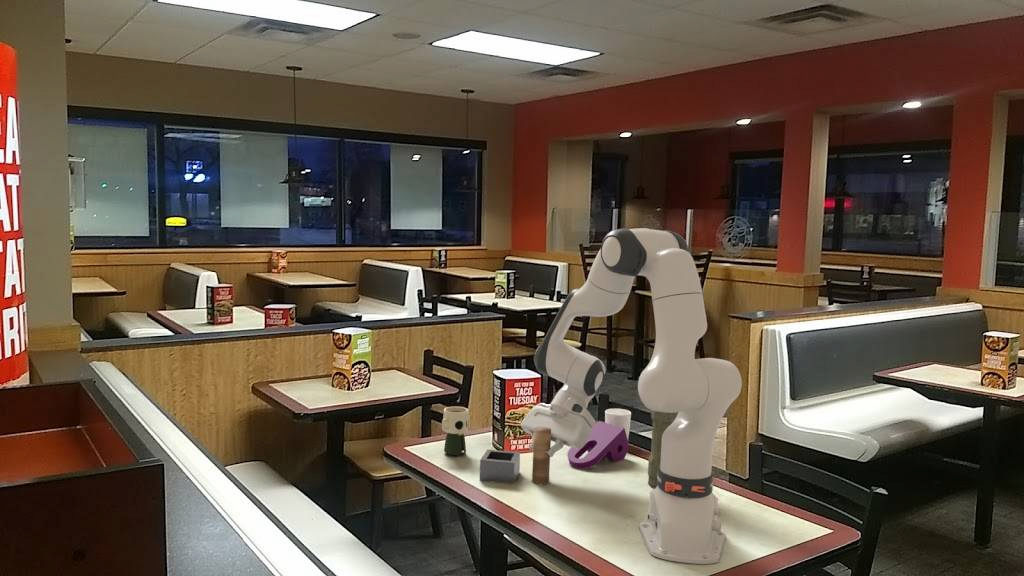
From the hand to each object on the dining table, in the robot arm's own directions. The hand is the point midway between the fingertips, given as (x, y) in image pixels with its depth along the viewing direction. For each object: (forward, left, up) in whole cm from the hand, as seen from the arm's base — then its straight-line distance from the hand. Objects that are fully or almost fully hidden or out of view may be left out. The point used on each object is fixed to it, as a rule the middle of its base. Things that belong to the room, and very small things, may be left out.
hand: (540, 452), depth 199 cm
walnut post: (+1, 0, -8) cm, 8 cm away
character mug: (+17, +27, -8) cm, 32 cm away
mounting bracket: (+22, -13, -8) cm, 27 cm away
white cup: (+40, -18, -8) cm, 45 cm away
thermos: (+7, -32, -8) cm, 34 cm away
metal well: (+2, +11, -8) cm, 13 cm away
